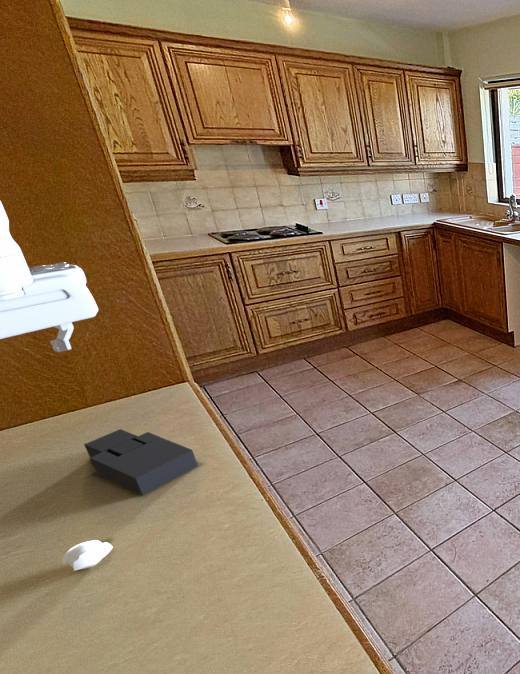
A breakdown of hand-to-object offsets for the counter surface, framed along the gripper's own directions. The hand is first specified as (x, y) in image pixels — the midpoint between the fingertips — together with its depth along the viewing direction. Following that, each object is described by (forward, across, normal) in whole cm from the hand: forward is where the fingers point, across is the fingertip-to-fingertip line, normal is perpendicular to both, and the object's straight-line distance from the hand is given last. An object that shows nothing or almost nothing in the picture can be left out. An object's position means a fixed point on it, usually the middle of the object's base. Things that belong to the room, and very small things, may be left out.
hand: (21, 361), depth 72 cm
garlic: (+19, +10, +28) cm, 35 cm away
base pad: (+19, -4, +14) cm, 24 cm away
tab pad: (+19, -5, +7) cm, 21 cm away
